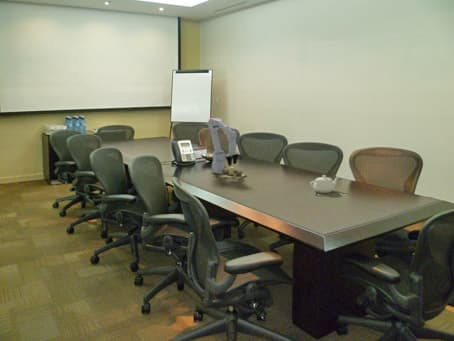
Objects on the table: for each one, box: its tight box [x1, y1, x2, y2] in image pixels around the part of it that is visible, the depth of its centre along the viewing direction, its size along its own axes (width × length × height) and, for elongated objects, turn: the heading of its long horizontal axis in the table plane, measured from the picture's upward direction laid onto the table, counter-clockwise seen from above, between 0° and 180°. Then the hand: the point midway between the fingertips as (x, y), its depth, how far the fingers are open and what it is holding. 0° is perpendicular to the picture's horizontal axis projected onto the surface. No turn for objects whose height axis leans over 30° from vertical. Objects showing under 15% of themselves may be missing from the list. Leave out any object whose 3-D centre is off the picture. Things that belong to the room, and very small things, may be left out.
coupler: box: [228, 166, 238, 176], centre depth 312 cm, size 4×4×6 cm
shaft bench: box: [217, 168, 247, 180], centre depth 313 cm, size 17×14×5 cm
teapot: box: [309, 174, 340, 194], centre depth 266 cm, size 22×14×11 cm, turn 111°
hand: (232, 164), depth 312 cm, fingers open, 7 cm apart
